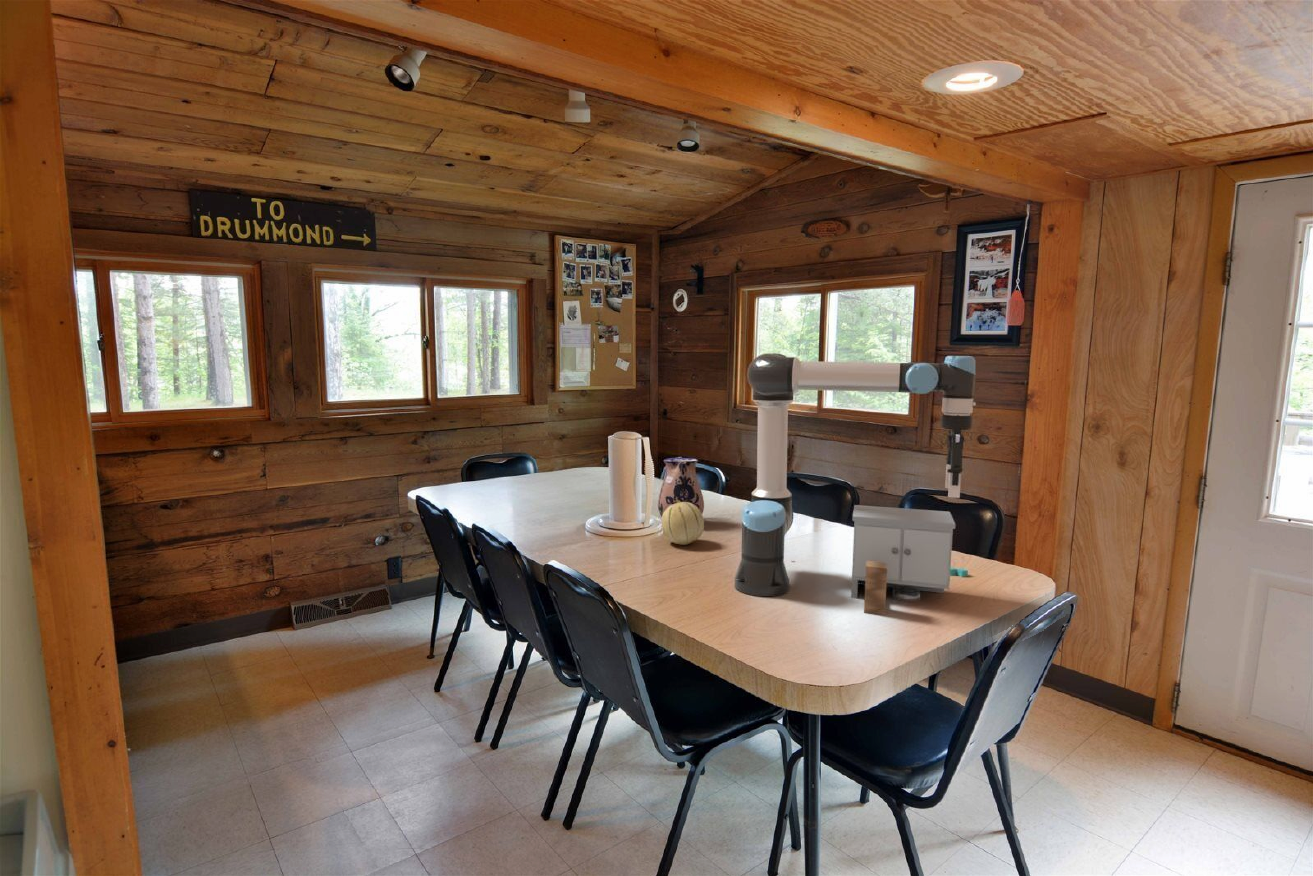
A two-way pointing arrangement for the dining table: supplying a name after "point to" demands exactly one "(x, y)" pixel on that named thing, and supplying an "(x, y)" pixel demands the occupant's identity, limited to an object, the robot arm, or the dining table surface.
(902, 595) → the steel puck
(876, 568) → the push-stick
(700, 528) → the cantaloupe
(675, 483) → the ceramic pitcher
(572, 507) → the dining table surface
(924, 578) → the cabinet
